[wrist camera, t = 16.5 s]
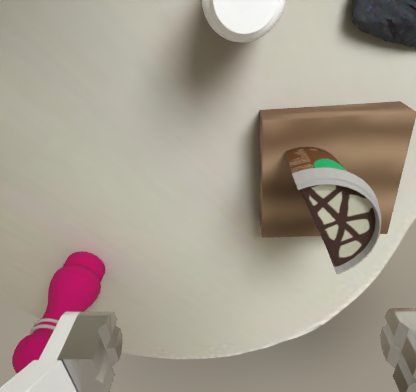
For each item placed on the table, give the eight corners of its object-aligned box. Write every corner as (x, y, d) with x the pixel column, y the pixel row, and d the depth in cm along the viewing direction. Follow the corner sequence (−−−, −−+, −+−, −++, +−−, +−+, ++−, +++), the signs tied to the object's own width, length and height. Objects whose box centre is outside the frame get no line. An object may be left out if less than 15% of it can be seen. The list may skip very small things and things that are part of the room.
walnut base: (259, 110, 40) (262, 121, 37) (400, 101, 39) (416, 112, 36) (259, 219, 49) (262, 237, 45) (375, 215, 47) (387, 233, 44)
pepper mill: (86, 287, 58) (27, 412, 41) (54, 260, 55) (-24, 383, 38) (117, 271, 55) (68, 396, 38) (85, 241, 52) (17, 364, 35)
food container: (365, 203, 42) (400, 258, 33) (316, 221, 43) (338, 278, 35) (334, 115, 36) (367, 155, 28) (280, 140, 38) (295, 184, 29)
